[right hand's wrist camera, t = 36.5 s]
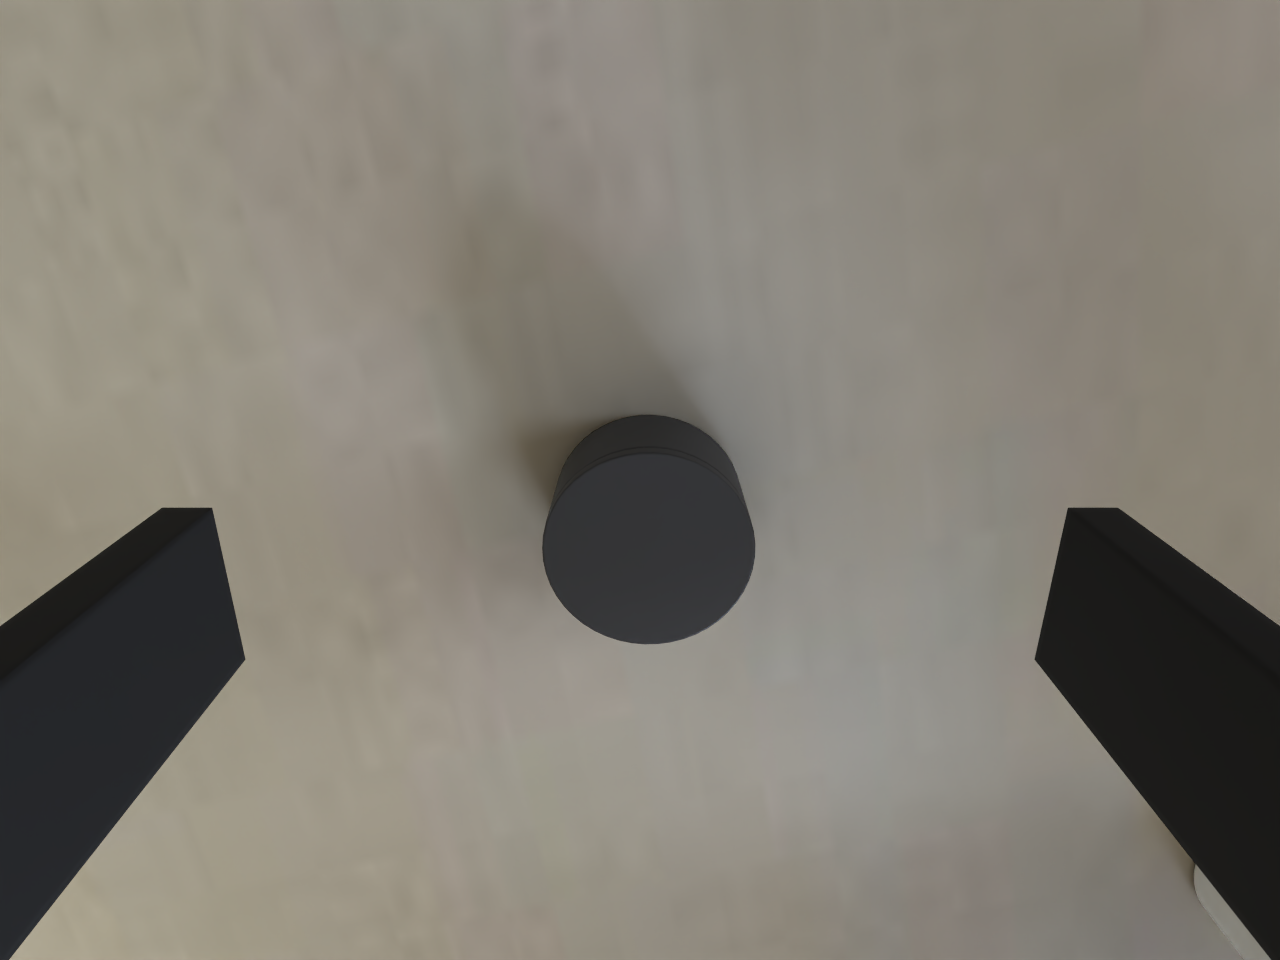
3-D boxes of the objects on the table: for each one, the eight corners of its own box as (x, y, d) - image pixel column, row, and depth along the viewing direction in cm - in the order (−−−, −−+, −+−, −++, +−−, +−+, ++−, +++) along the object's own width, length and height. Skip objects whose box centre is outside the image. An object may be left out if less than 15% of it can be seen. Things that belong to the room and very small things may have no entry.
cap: (675, 614, 18) (679, 677, 16) (522, 529, 17) (504, 582, 15) (777, 476, 17) (798, 523, 14) (617, 378, 16) (613, 411, 14)
